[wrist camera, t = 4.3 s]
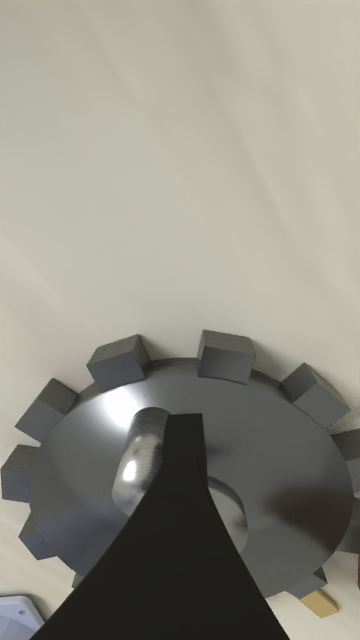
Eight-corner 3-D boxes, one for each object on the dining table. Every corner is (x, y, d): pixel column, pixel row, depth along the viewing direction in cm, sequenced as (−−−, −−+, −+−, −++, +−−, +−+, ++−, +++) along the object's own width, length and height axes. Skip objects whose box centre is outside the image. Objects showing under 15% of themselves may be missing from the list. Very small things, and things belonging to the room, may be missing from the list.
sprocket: (440, 477, 14) (544, 594, 10) (203, 622, 19) (206, 741, 15) (160, 241, 11) (140, 269, 7) (-40, 493, 16) (-123, 601, 12)
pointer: (336, 605, 18) (339, 611, 18) (319, 612, 18) (320, 618, 18) (302, 573, 17) (304, 580, 17) (284, 582, 17) (285, 588, 17)
